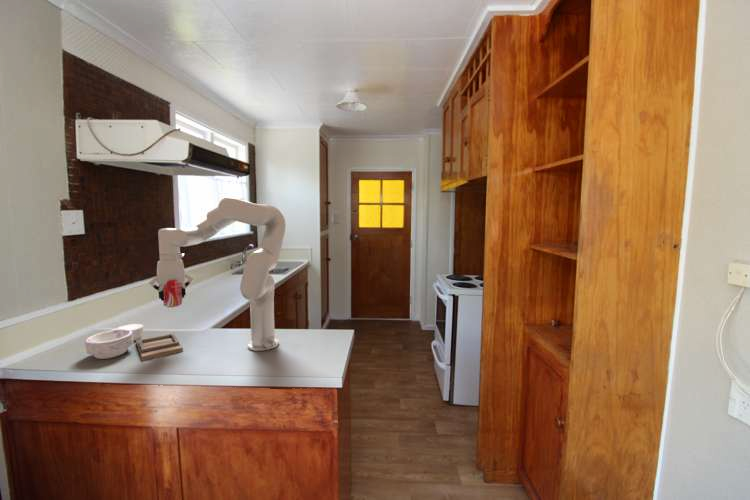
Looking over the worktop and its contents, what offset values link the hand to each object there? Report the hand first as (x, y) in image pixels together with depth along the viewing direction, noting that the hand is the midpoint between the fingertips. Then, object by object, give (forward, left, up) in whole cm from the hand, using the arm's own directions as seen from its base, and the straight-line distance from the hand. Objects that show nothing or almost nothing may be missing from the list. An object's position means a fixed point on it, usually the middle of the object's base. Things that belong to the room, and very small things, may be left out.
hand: (172, 298), depth 148 cm
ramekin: (+20, +15, -20) cm, 32 cm away
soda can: (0, 0, -3) cm, 3 cm away
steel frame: (0, +6, -19) cm, 20 cm away
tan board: (0, +6, -20) cm, 21 cm away
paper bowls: (+4, +22, -20) cm, 30 cm away
